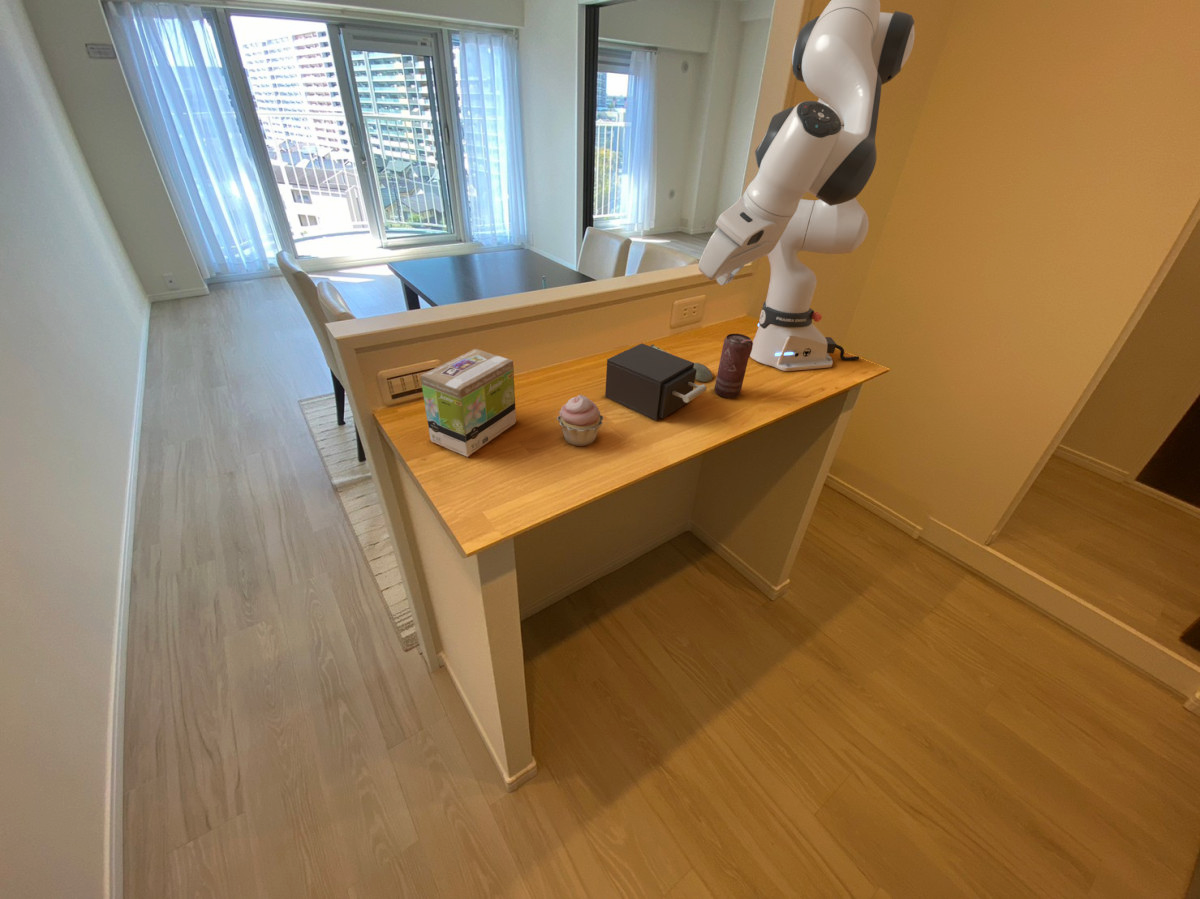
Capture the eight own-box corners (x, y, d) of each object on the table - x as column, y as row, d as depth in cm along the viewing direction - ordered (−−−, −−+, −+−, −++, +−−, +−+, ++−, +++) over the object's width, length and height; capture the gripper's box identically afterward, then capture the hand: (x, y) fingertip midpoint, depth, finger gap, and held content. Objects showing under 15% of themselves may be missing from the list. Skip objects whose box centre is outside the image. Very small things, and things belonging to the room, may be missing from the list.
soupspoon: (697, 387, 121) (716, 382, 124) (700, 375, 119) (719, 370, 122) (642, 351, 134) (660, 347, 138) (644, 340, 133) (662, 336, 136)
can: (741, 401, 115) (754, 344, 106) (713, 397, 115) (725, 341, 107) (740, 388, 119) (753, 334, 111) (714, 385, 120) (725, 331, 112)
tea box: (469, 459, 92) (459, 389, 83) (430, 442, 96) (416, 374, 87) (518, 423, 103) (514, 358, 94) (480, 409, 107) (473, 346, 98)
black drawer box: (688, 400, 114) (694, 362, 108) (656, 421, 106) (661, 381, 100) (638, 379, 121) (641, 343, 116) (605, 397, 113) (607, 359, 108)
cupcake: (556, 425, 103) (555, 383, 97) (600, 425, 104) (602, 383, 98) (556, 451, 95) (556, 407, 89) (604, 450, 96) (607, 406, 90)
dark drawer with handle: (707, 406, 110) (713, 375, 105) (679, 426, 103) (684, 393, 98) (644, 380, 119) (647, 350, 115) (614, 396, 112) (616, 365, 107)
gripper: (780, 193, 89) (742, 257, 100) (713, 217, 78) (678, 286, 89) (806, 214, 87) (764, 276, 98) (741, 241, 76) (703, 308, 88)
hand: (723, 281), depth 94 cm, fingers closed
